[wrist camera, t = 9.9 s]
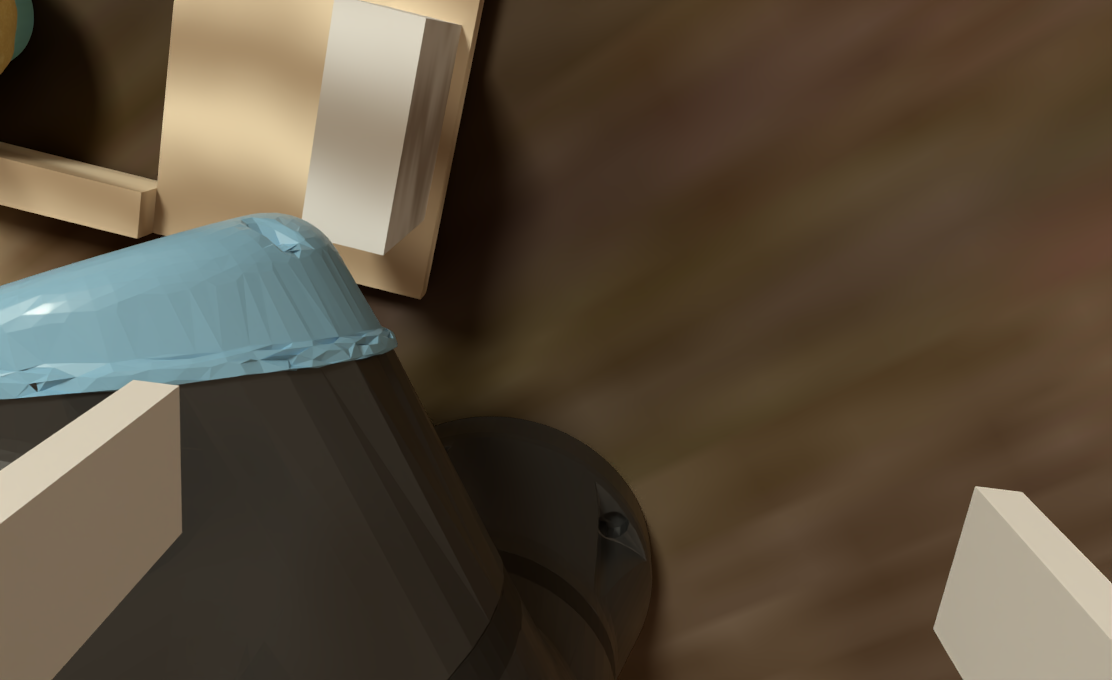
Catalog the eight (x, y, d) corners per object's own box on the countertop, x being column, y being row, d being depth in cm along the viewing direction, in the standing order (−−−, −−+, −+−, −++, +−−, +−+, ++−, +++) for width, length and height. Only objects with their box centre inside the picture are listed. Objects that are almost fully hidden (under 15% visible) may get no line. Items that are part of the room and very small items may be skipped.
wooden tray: (426, 292, 39) (379, 350, 32) (-141, 151, 39) (-329, 175, 31) (496, -62, 35) (463, -97, 27) (-148, -227, 34) (-371, -310, 26)
